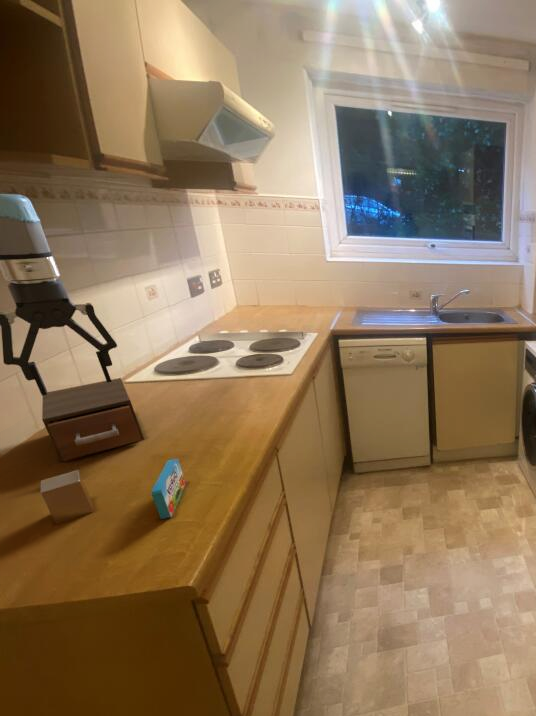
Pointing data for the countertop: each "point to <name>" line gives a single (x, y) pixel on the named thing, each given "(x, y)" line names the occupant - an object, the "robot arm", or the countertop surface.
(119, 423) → the drawer
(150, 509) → the countertop surface
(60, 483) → the block
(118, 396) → the cabinet
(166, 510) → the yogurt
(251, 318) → the countertop surface
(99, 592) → the countertop surface
